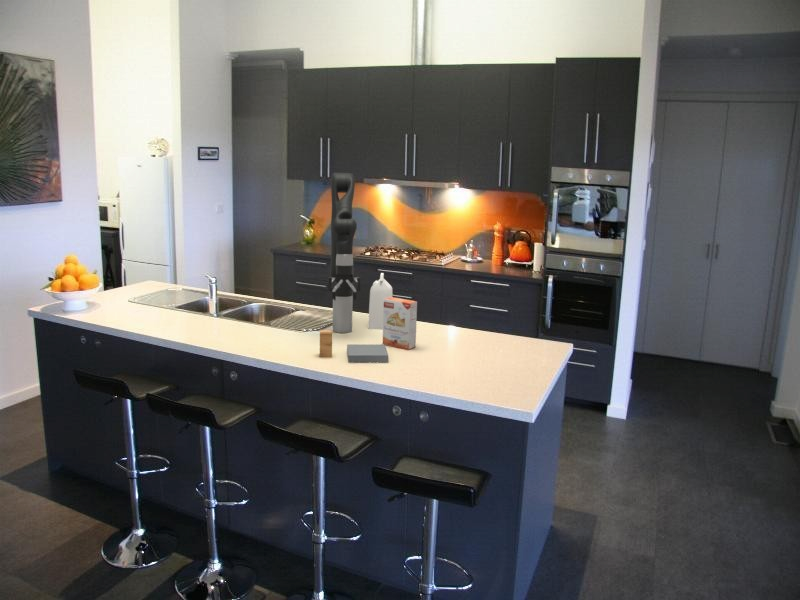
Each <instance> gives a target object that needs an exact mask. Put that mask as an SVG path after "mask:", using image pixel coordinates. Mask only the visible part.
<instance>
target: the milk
mask: <svg viewBox="0 0 800 600" xmlns="http://www.w3.org/2000/svg"><path fill="white" fill-rule="evenodd" d="M384 277H385V273H384V272H380V276H379V279H376V280H375V281H374V282H373V283H372V285H371V287H370V290H369V305H368V324H367V325H368V326H367V329H368V330H381V331H383V312H384V299H385V298H389V297H393V286H392V285H391V284H390V283H389V282H388V281H387V280H386V279H385V278H384Z"/></svg>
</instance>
